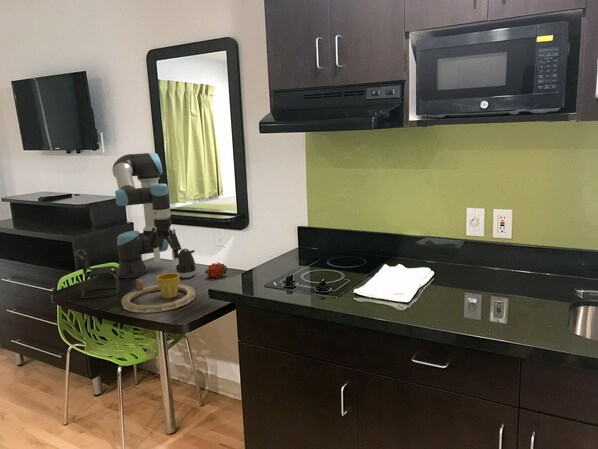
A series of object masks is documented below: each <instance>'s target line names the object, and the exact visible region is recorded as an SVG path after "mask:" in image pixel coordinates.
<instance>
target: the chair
mask: <svg viewBox="0 0 598 449" xmlns="http://www.w3.org/2000/svg"><path fill="white" fill-rule="evenodd" d="M79 252H83V253H84V254H83V255H84V256H83V255H81V254H79ZM73 256H74V258H75V257H76V258H77V257H79V258H80V259H81V260H80V261H81V266H82V271H83V276H85V277H87V278H96V277H104V276H110V275H111V276H113V278H114V285H113V286H105V287H104V286H103V287H96V288H95V287H94V288H89V289H85V290H83V291H82V292H81V293H80V299H81V298H86V299H85V300H88V299H87V298H91V299H96V298H97V299H98V297H99V298H106V297H113V296H116V295H117V294H118V293H119V285H120V279H119V277H118V268H117V267H116V266H114V265H109V266H108V265H107V266H98V267H90V266H89V261H88V260H89V259H88V253H87V251H86V249H84V248H77V249H76V250H75V252H74V254H73ZM112 269H113V270H114V271H115V273H114V272H111V271H112ZM88 270H89V271H90V274H88V273H87V272H88ZM103 289H104V290H113V289H115V292H112V293H107V294H98V295H91V296H85V293H86V292H85V291H88V290H96V291H102V290H103ZM84 292H85V293H84Z"/></svg>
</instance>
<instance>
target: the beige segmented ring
mask: <svg viewBox="0 0 598 449" xmlns="http://www.w3.org/2000/svg"><path fill="white" fill-rule="evenodd" d="M143 283H144V282H143V279H142V278H137V279H135V286H136V287H135V288H136V289H134V290H131V291H130V292H128V293H127V294H125V295H124V296H123V297H122V298H121V300H120V302H121V306H122V308H123V309H124V310H127V311H129V312H132V313H145V314H148V313H157V312H159V313H160V312H164V311H170V310H174V309H178V308H179V307H183V306H185V305H187V304H189V303H190V302H192V301H193V300H194V299H195V296H196V290H195V289H194V288H193V287H192V286H190V285H187V284H181V283H178V292H179V291H180V292H183V293H186V294H185V296H183V297H181V298H180V299H179V298H178V299H176V300H174V301H172V302H167V303H162V304H156V305H155V304H152V305H146V304H145V305H142V304H141V305H140V304H136V303H133V302H131V301H132V300H133V299H135V298H137V297H139V296H141V295H145V294H148V293H152V292H156V291H161V290H160V287H159V286H158V285H157V284H154V285H153V284H152V285H149V286H144V284H143Z"/></svg>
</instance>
